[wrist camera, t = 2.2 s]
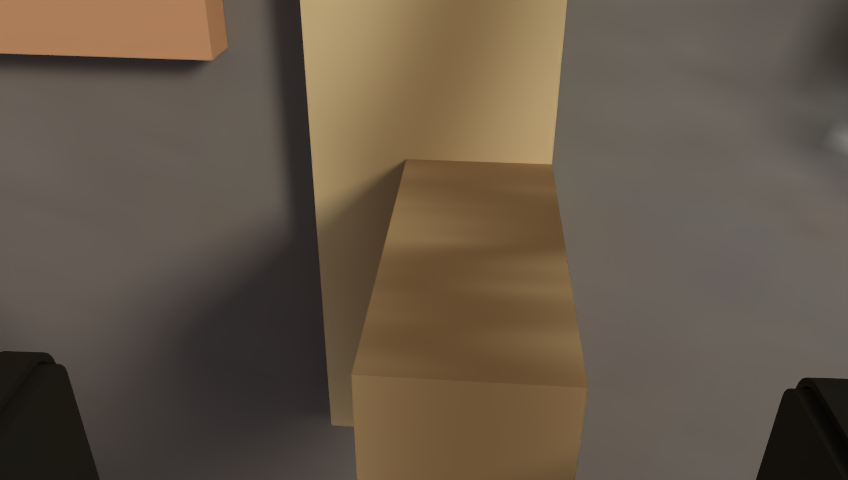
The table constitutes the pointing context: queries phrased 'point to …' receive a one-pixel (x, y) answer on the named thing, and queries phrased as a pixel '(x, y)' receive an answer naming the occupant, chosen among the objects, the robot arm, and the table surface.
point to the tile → (114, 28)
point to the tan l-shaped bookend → (444, 237)
